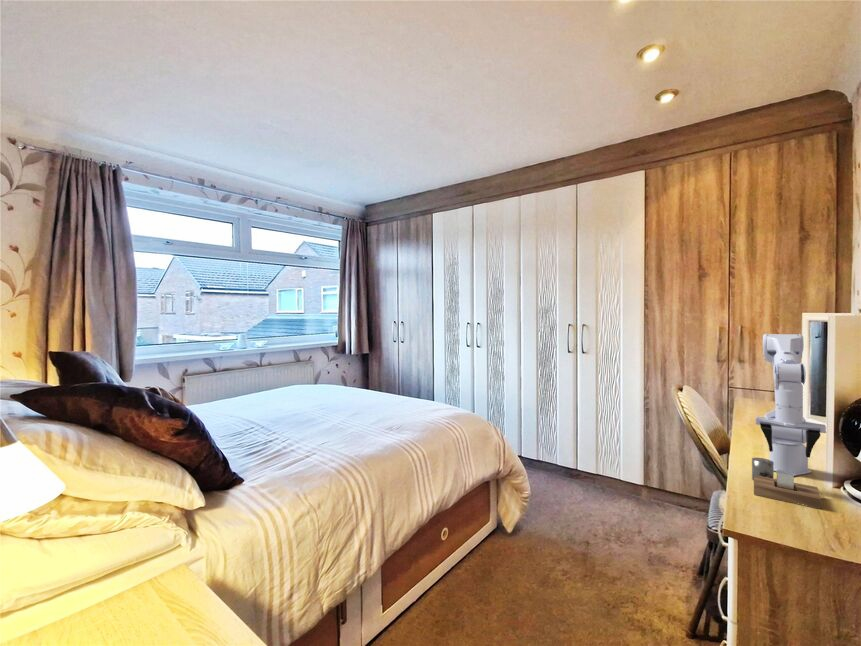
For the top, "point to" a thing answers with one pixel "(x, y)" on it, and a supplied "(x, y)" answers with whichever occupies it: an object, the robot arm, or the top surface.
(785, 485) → the square bit
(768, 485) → the bore block
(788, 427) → the robot arm
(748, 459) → the top surface
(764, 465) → the round bit
